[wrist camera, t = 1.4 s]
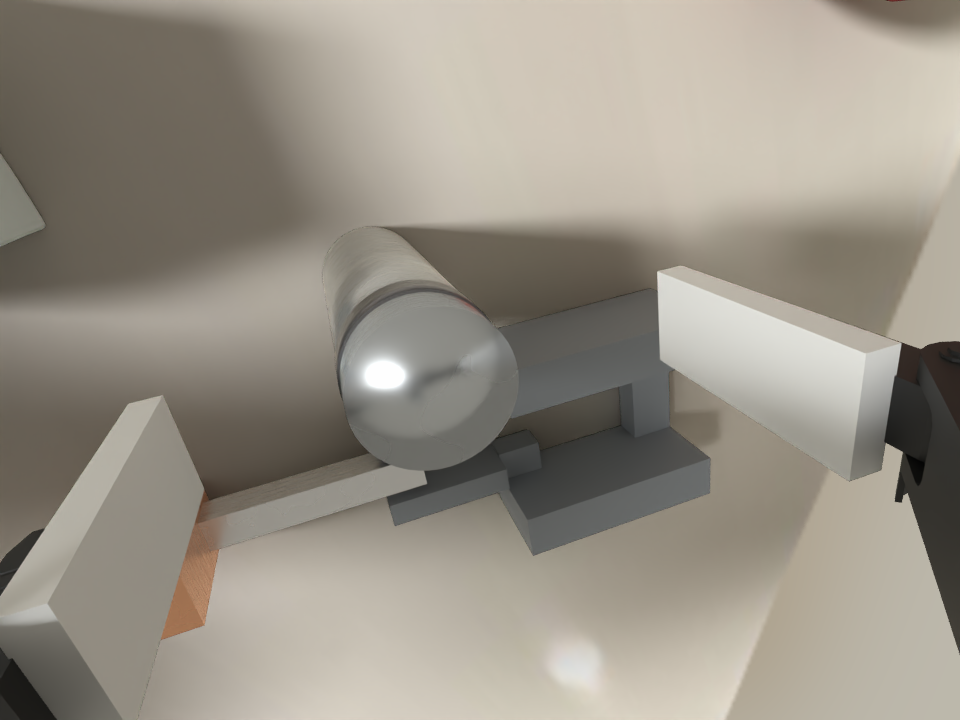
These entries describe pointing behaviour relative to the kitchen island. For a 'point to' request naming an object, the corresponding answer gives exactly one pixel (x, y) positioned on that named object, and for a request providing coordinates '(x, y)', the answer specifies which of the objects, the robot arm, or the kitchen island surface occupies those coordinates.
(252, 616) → the kitchen island surface
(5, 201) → the ink box
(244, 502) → the pin
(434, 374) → the grey cylinder
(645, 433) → the mount
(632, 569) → the kitchen island surface
